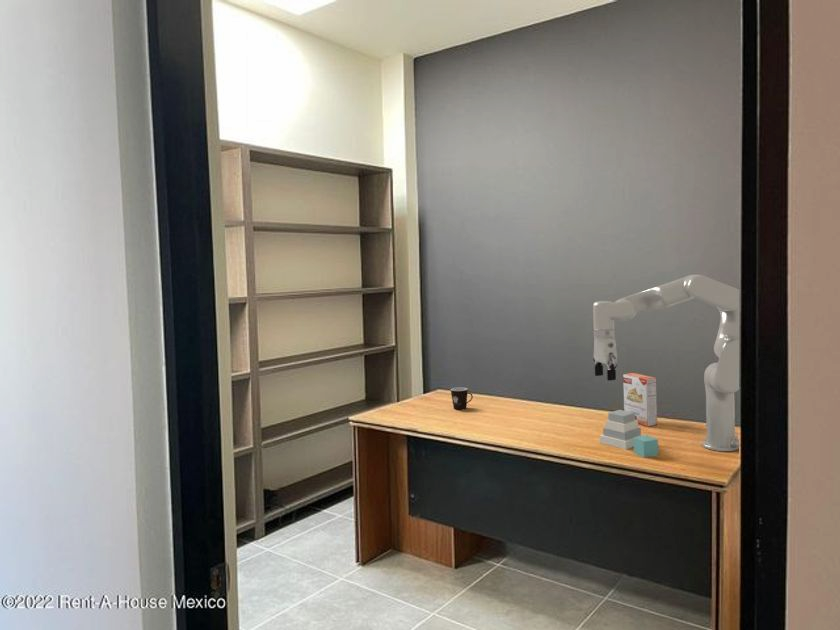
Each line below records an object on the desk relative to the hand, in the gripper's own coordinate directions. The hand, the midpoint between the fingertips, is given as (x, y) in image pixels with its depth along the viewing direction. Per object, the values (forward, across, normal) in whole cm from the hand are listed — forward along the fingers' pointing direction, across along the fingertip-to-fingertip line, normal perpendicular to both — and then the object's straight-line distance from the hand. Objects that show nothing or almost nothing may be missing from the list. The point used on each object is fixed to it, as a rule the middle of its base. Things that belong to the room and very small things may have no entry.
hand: (605, 377), depth 231 cm
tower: (+27, +2, -7) cm, 28 cm away
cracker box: (+27, +24, -29) cm, 47 cm away
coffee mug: (+27, +79, +37) cm, 92 cm away
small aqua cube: (+27, -13, -9) cm, 31 cm away
